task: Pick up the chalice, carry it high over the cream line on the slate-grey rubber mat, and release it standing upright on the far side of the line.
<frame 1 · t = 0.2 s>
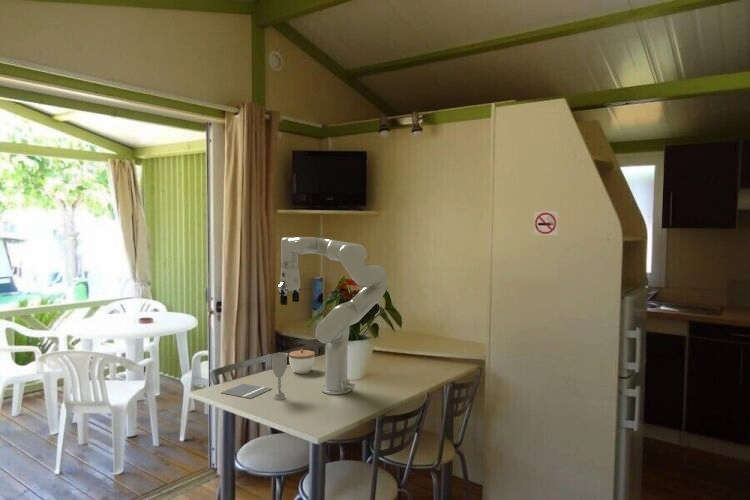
hand: (289, 303, 225), 36 cm above the table, tool pointing down, fingers open, 9 cm apart
lidded bowl: (302, 372, 246), on the table
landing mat: (246, 391, 215), on the table
chalice: (279, 398, 207), on the table
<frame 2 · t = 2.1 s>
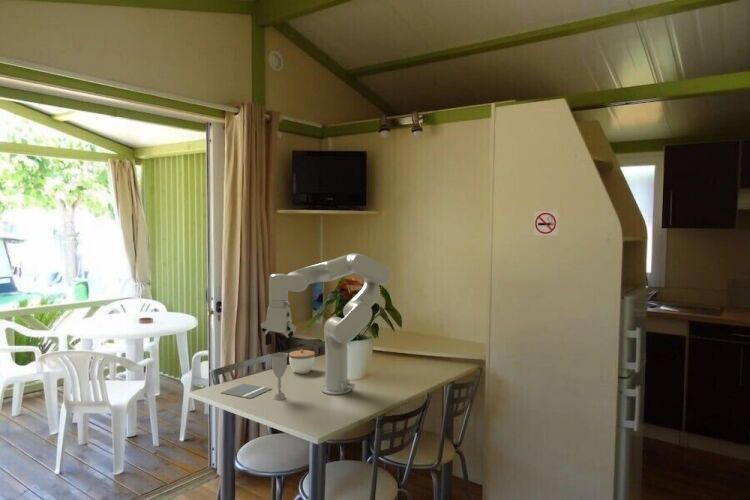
hand: (278, 345, 206), 22 cm above the table, tool pointing down, fingers open, 9 cm apart
nothing on the table moved.
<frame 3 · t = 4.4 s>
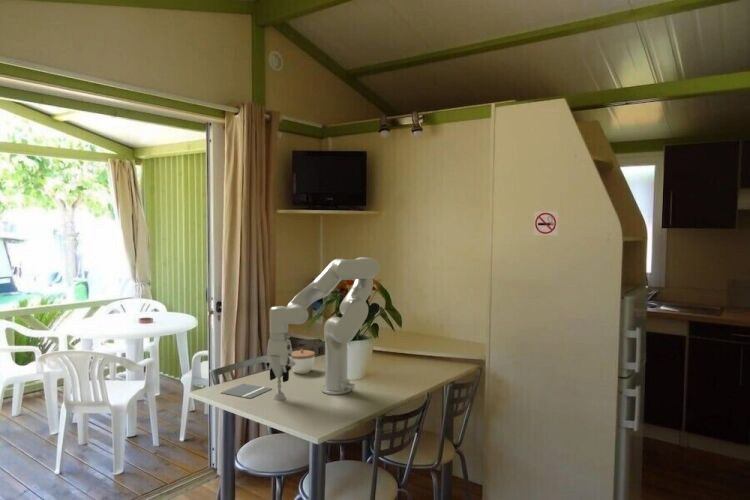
hand: (279, 379, 206), 8 cm above the table, tool pointing down, fingers closed on chalice, 5 cm apart
chalice: (279, 398, 207), on the table, touching gripper
everything else where it was.
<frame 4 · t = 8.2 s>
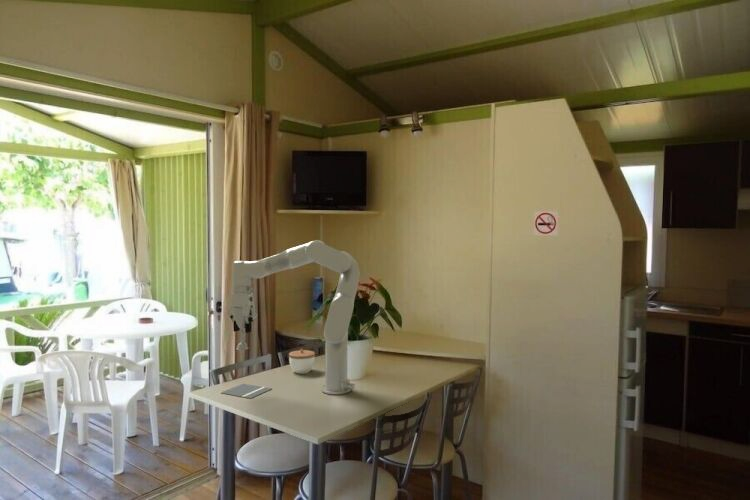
hand: (242, 331, 215), 26 cm above the table, tool pointing down, fingers closed on chalice, 5 cm apart
chalice: (242, 349, 216), point 18 cm above the table, touching gripper
everything else where it was.
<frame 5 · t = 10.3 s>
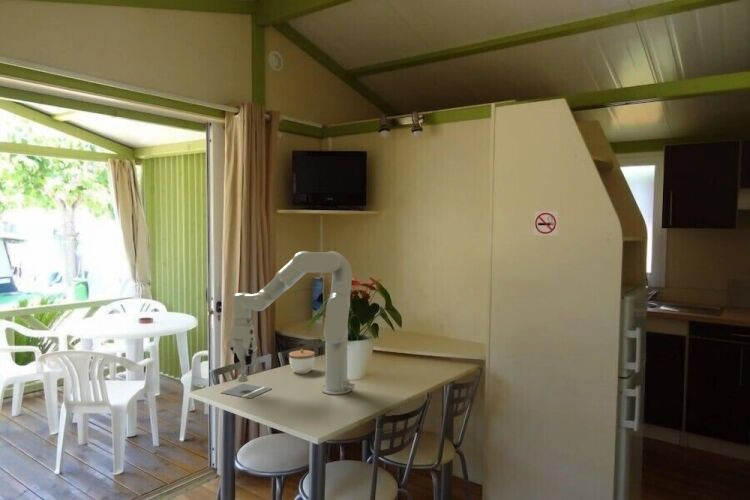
hand: (242, 363, 216), 12 cm above the table, tool pointing down, fingers closed on chalice, 5 cm apart
chalice: (242, 380, 216), point 4 cm above the table, touching gripper
everything else where it was.
when the fingers open (9 cm above the table, at t = 11.9 s): chalice drops 1 cm, resting on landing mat.
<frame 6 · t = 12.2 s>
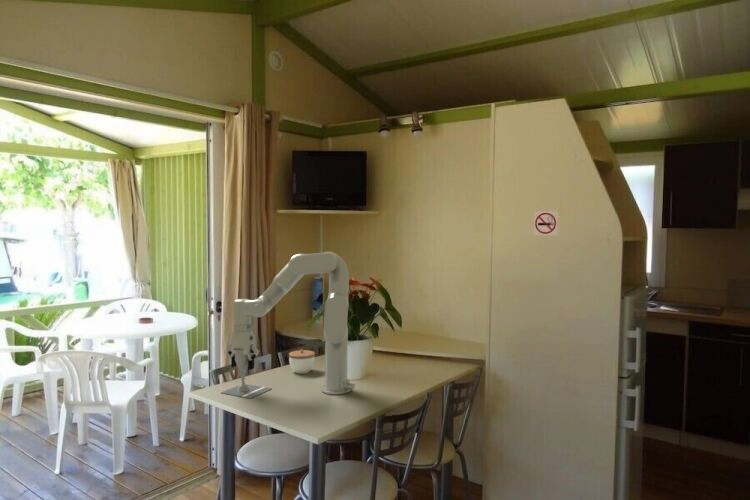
hand: (242, 367, 216), 10 cm above the table, tool pointing down, fingers open, 8 cm apart
chalice: (243, 390, 216), resting on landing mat
everything else where it was.
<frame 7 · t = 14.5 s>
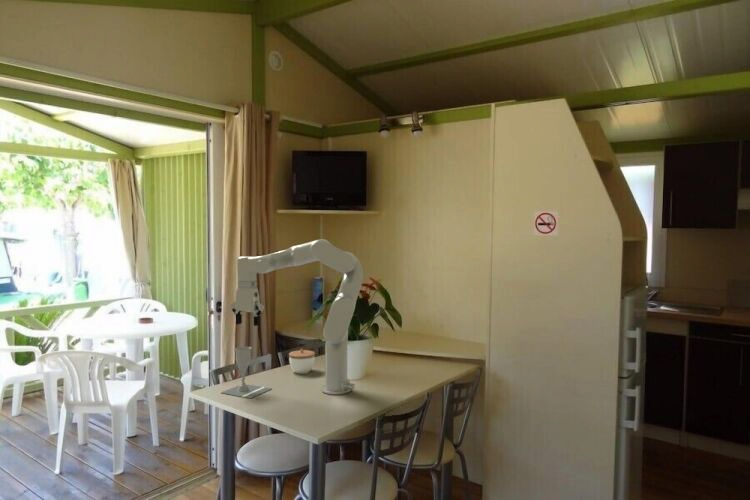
hand: (247, 324, 216), 28 cm above the table, tool pointing down, fingers open, 9 cm apart
nothing on the table moved.
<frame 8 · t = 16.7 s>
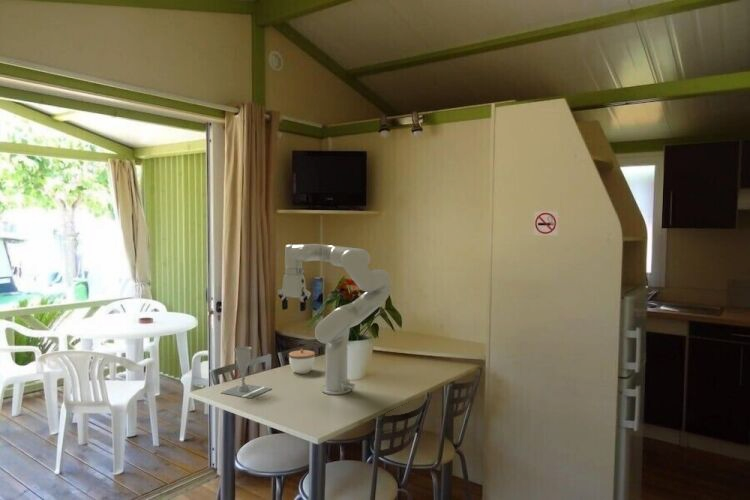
hand: (293, 310, 225), 33 cm above the table, tool pointing down, fingers open, 9 cm apart
nothing on the table moved.
at the end: chalice inside the target area (0.7 cm from its centre), resting on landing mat; chalice tilted 0°; the gripper is holding nothing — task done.
